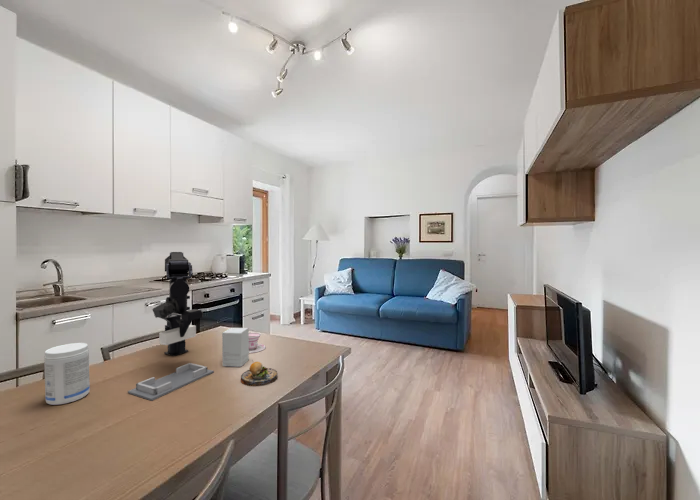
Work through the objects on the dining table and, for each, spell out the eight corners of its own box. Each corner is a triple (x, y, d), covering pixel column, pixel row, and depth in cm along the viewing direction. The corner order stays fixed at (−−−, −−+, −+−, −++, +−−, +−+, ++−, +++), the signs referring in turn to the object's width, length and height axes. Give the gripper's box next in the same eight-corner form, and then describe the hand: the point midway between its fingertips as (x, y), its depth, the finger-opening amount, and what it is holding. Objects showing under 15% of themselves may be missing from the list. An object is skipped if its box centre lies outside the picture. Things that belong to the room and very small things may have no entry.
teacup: (257, 342, 143) (257, 329, 143) (270, 349, 134) (270, 335, 134) (231, 348, 135) (231, 334, 135) (243, 356, 126) (243, 340, 126)
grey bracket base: (127, 393, 94) (127, 385, 94) (191, 367, 114) (191, 360, 114) (151, 400, 89) (151, 392, 89) (213, 372, 109) (213, 365, 109)
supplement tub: (93, 387, 97) (93, 340, 97) (83, 401, 88) (83, 350, 88) (52, 394, 93) (52, 344, 92) (37, 409, 84) (37, 355, 84)
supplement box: (249, 360, 122) (249, 327, 121) (240, 367, 114) (241, 333, 114) (231, 359, 122) (231, 327, 122) (221, 366, 115) (221, 332, 115)
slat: (159, 343, 109) (159, 332, 109) (189, 335, 120) (189, 324, 120) (166, 345, 108) (166, 333, 108) (195, 336, 119) (195, 325, 119)
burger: (281, 382, 103) (282, 359, 103) (245, 390, 97) (245, 366, 97) (271, 369, 113) (271, 349, 113) (237, 376, 107) (237, 354, 107)
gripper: (139, 295, 110) (139, 339, 110) (175, 299, 103) (175, 346, 103) (169, 291, 120) (168, 331, 121) (204, 294, 113) (203, 337, 113)
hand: (178, 336), depth 114 cm, fingers closed on slat, 3 cm apart
